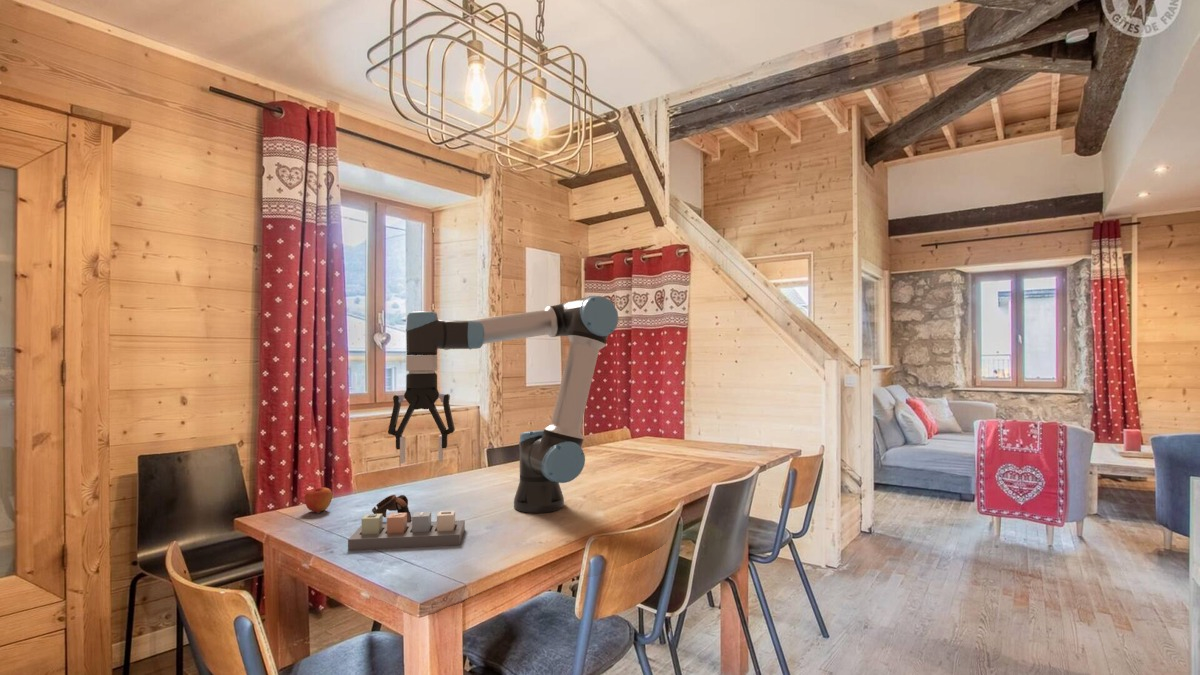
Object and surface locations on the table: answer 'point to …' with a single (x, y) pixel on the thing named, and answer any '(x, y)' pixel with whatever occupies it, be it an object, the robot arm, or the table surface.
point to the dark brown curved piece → (393, 506)
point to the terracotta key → (397, 523)
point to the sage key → (372, 524)
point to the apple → (318, 499)
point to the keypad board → (407, 538)
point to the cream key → (446, 521)
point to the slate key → (421, 522)
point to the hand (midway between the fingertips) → (421, 461)
